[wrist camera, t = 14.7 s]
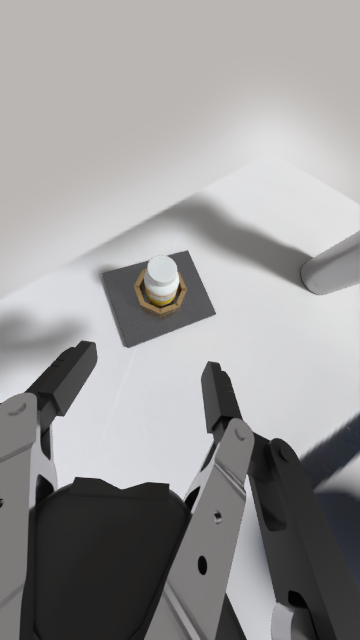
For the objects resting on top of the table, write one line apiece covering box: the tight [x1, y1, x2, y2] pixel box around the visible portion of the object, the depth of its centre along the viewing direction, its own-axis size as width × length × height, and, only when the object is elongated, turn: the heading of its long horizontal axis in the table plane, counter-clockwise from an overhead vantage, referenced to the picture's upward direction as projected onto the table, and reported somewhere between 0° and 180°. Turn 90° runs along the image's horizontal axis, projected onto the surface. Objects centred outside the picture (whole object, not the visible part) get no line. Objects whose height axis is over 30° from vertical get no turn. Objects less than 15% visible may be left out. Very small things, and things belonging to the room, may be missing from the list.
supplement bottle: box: [144, 255, 179, 308], centre depth 24 cm, size 5×5×10 cm
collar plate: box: [102, 251, 216, 348], centre depth 28 cm, size 18×15×4 cm
